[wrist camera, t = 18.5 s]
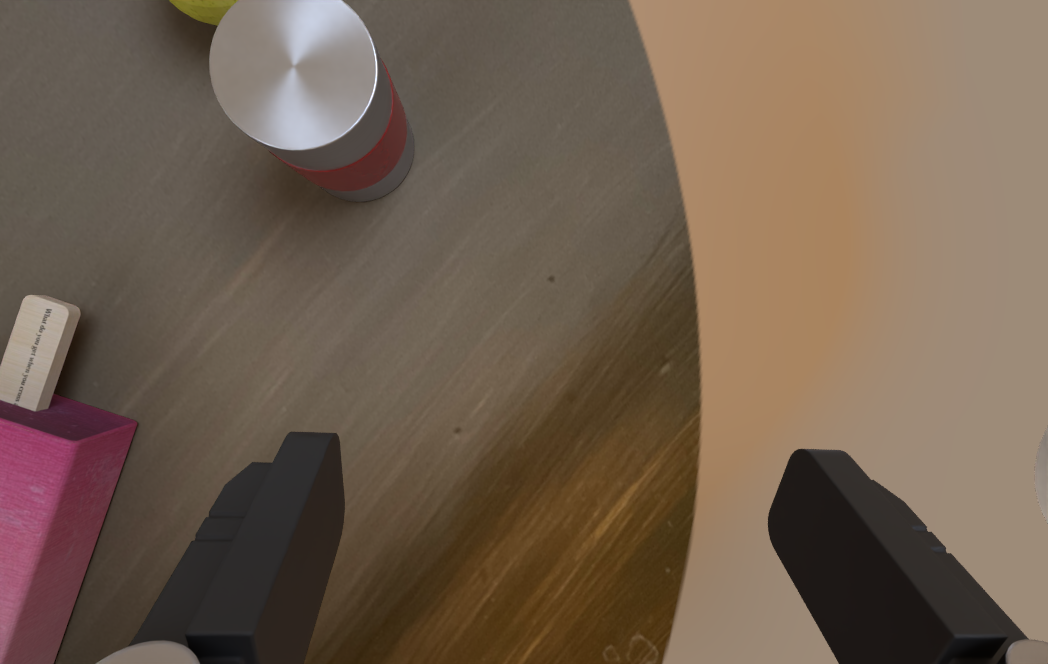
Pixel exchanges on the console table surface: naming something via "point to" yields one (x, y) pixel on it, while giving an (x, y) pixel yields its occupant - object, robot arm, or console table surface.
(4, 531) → the popsicle
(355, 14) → the can
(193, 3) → the fruit
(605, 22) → the console table surface
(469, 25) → the console table surface
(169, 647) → the robot arm
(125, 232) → the console table surface
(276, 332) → the console table surface
